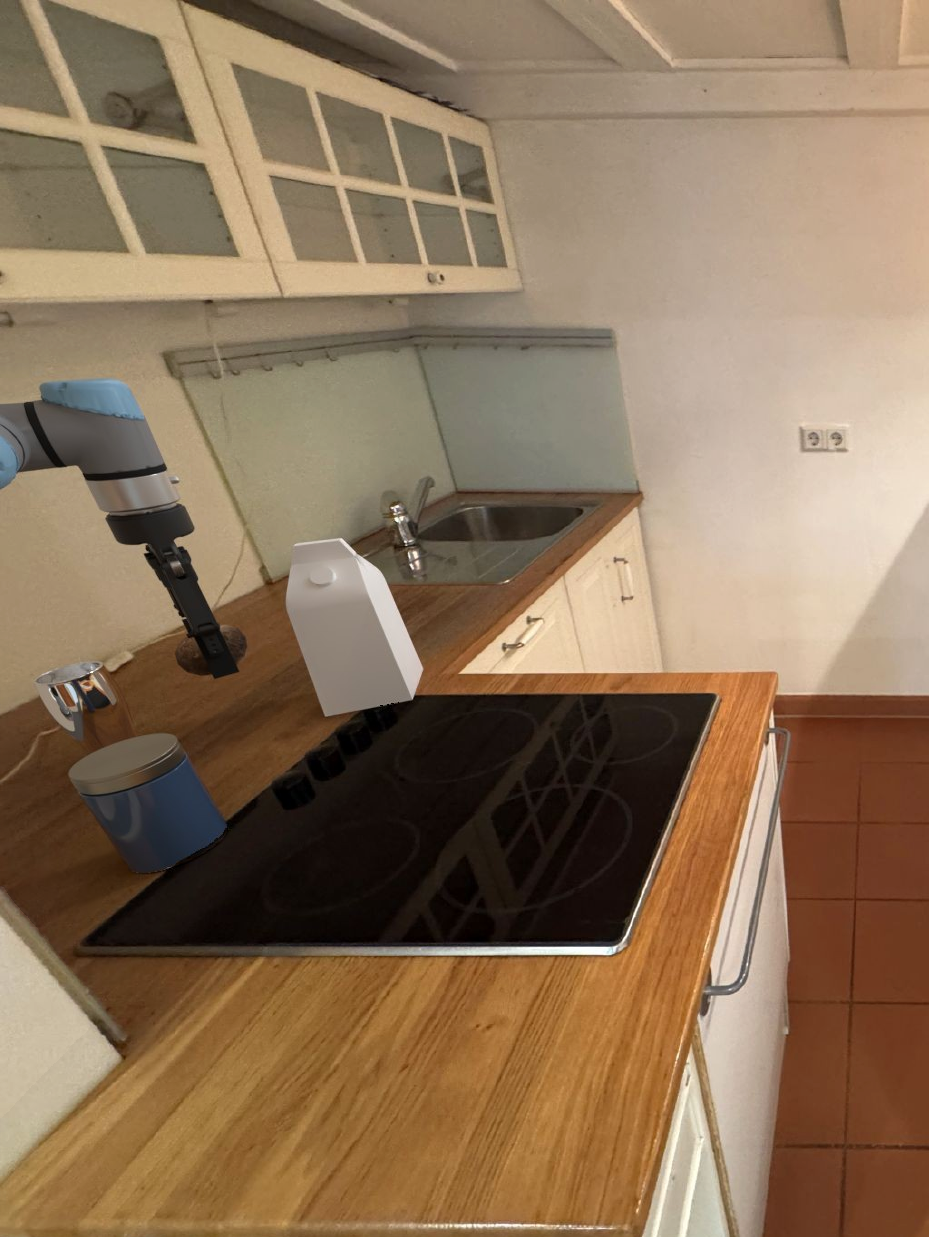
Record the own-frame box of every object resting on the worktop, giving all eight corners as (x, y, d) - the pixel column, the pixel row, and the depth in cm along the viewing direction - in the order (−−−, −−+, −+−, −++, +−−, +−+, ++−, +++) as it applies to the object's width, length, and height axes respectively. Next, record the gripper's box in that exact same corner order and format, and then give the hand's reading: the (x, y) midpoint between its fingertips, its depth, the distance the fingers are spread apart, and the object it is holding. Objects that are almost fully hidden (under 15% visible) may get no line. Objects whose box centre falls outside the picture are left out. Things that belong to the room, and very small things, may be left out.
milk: (423, 669, 122) (372, 526, 111) (412, 699, 113) (355, 547, 101) (343, 683, 118) (281, 537, 107) (325, 716, 109) (255, 559, 97)
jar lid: (80, 806, 72) (70, 791, 72) (73, 774, 78) (63, 760, 77) (191, 765, 78) (183, 751, 78) (178, 738, 84) (170, 724, 83)
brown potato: (234, 628, 103) (203, 606, 97) (275, 652, 102) (247, 632, 97) (184, 670, 99) (150, 650, 94) (227, 696, 98) (195, 677, 93)
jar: (134, 886, 77) (73, 796, 72) (123, 850, 83) (66, 764, 77) (236, 841, 83) (187, 755, 78) (220, 811, 89) (173, 728, 83)
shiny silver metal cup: (161, 744, 103) (109, 655, 96) (154, 766, 98) (98, 673, 91) (96, 762, 99) (38, 670, 93) (85, 786, 94) (22, 690, 88)
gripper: (197, 514, 85) (271, 677, 95) (169, 491, 97) (237, 638, 107) (112, 528, 80) (199, 699, 90) (94, 502, 92) (172, 655, 102)
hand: (220, 665), depth 98 cm, fingers closed on brown potato, 7 cm apart
